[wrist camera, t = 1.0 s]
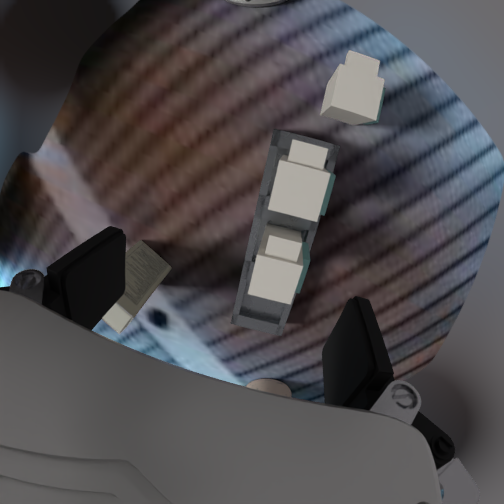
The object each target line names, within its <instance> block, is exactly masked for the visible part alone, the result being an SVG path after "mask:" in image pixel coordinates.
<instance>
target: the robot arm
mask: <svg viewBox="0 0 504 504" xmlns="http://www.w3.org/2000/svg"><path fill="white" fill-rule="evenodd" d="M225 1H227V2H230V3H232V4H236V5H240V6H247V7H263V6H271V5H275V4H280V3H282V2H285V1H288V0H225ZM248 1H249V2H248ZM125 256H126V235H125V234H123V230H122V229H118V228H115V227H112V226H109V227H107V228H106V229H104V230H102V231H101V232H99V233H98V234H96V235H94V236H93V237H91V238H90V239H88V240H87V241H85V242H84V243H82V244H81V245H79V246H77V247H76V248H74V249H73V250H71V251H70V252H69V253H67V254H66V255H64V256H63V257H61V258H60V259H58V260H57V261H56V262H54V263H53V264H51V265H50V266H48V267H47V275H46V276H45V277H44V275H43V273H42V272H41V271H39V270H35V269H28V270H24V271H21V272H19V273H18V274H16V275H15V276H14V277H13V279H12V281H11V285H10V286H8V287H0V504H477V503H478V502H479V498H480V492H479V488H478V486H477V485H476V483H475V482H474V480H473V479H472V478H471V476H470V475H469V473H468V472H467V470H466V469H465V467H464V466H463V465H462V463H461V462H460V461H459V459H458V458H457V459H455V460H454V459H453V457H454V453H455V448H454V444H453V442H452V440H451V438H450V437H449V436H448V435H447V434H446V433H444V432H443V431H442V430H441V429H439V428H438V427H437V426H436V425H434V423H432V422H431V421H430V420H429V419H428V418H426V417H425V416H424V415H423V414H421V413H420V412H419V411H418V410H419V408H420V405H421V398H420V395H419V393H418V392H417V390H416V389H415V388H414V387H413V386H412V385H411V384H409V383H407V382H404V381H401V380H396V381H394V377H393V374H394V372H393V369H392V365H391V362H390V359H389V356H388V353H387V350H386V346H385V343H384V340H383V337H382V334H381V331H380V329H379V326H378V323H377V320H376V317H375V314H374V312H373V309H372V306H371V304H370V301H369V300H368V299H365V298H361V297H357V296H355V297H354V298H353V299H351V298H350V299H349V300H348V302H347V304H346V306H345V308H344V310H343V312H342V314H341V316H340V318H339V319H338V321H337V323H336V325H335V327H334V329H333V331H332V333H331V335H330V336H329V338H328V340H327V342H326V344H325V345H324V348H323V351H322V361H323V377H324V397H325V403H319V402H313V401H308V400H303V399H297V398H292V397H287V396H282V395H278V394H273V393H269V392H264V391H260V390H256V389H252V388H248V387H244V386H240V385H237V384H233V383H230V382H226V381H223V380H219V379H216V378H212V377H209V376H206V375H203V374H199V373H196V372H193V371H190V370H187V369H184V368H181V367H179V366H176V365H173V364H170V363H167V362H165V361H162V360H159V359H157V358H154V357H151V356H149V355H146V354H144V353H141V352H139V351H136V350H134V349H131V348H129V347H127V346H124V345H122V344H120V343H117V342H115V341H113V340H111V339H108V338H106V337H104V336H102V335H100V334H98V333H96V332H94V331H91V330H92V329H93V328H94V327H95V326H96V324H97V323H98V322H99V321H100V320H101V319H102V318H103V317H104V315H105V314H106V313H107V312H108V311H109V310H110V309H111V308H112V306H113V305H114V304H115V303H116V302H117V301H118V300H119V299H120V298H121V297H122V296H123V294H124V292H125V287H126V285H125Z"/></svg>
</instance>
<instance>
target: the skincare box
mask: <svg viewBox="0 0 504 504" xmlns="http://www.w3.org/2000/svg"><path fill="white" fill-rule="evenodd" d="M170 270H171V266H170V265H169V264H168V263H167V262H165V261H164V260H163V259H162V258H161V257H160V256H159V255H158V254H156V253H155V252H154V251H153V250H152V249H151V248H150V247H148V246H147V245H146V244H145V243H144V242H143V241H141V240H140V241H139V242H138V243H137V244H135V245H134V246H133V247H132V248H130V249H129V250H128V251H127V252H126V256H125V285H126V287H125V292H124V294H123V296H122V297H121V298H120V299H119V300H118V301H117V302H116V303H115V304H114V305H113V306H112V308H111V309H110V310H109V311H108V312H107V313H106V314H105V315H104V317H103V318H102V320H103V321H104V322H106V323H107V324H108V325H109V326H110V327H111V328H113V329H114V330H115V331H116V332H117V333H119V334H120V333H121V332H122V331H123V330H124V329H125V328H126V327H127V326H128V325H129V323H130V322H131V321H132V320H133V318H134V317H135V316H136V314H137V313H138V312H139V310H140V309H141V308H142V306H143V305H144V304H145V302H146V301H147V300H148V298H149V297H150V296H151V294H152V293H153V292H154V291H155V289H156V288H157V287H158V285H159V284H160V283H161V282H162V280H163V279H164V278H165V277H166V275H167V274H168V273H169V271H170Z"/></svg>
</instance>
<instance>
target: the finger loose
mask: <svg viewBox="0 0 504 504" xmlns="http://www.w3.org/2000/svg"><path fill="white" fill-rule="evenodd" d="M379 63H380V61H379V60H376V59H374V58H371V57H368V56H365V55H362V54H359V53H356V52H353V51H350V50H349V52H348V53H347V56H346V61H345V65H342V64H340V65H339V66H338V68H337V69H336V71H335V73H334V74H333V76H332V77H331V79H330V80H329V82H328V84H327V87H326V92H325V96H324V101H323V105H322V110H321V114H320V115H321V116H325V117H328V118H332V119H335V120H338V121H341V122H345V123H348V124H351V125H358V124H365V125H368V124H374V123H378V122H379V117H380V113H381V108H382V103H383V98H384V93H385V88H383V85H384V80H385V79H382V78H380V77H377V74H378V69H379Z"/></svg>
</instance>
